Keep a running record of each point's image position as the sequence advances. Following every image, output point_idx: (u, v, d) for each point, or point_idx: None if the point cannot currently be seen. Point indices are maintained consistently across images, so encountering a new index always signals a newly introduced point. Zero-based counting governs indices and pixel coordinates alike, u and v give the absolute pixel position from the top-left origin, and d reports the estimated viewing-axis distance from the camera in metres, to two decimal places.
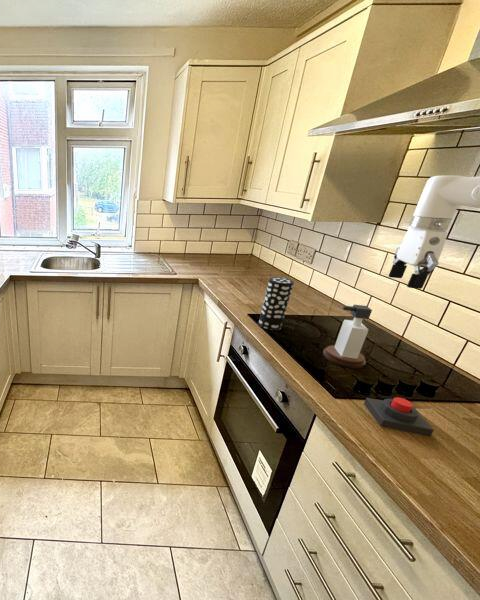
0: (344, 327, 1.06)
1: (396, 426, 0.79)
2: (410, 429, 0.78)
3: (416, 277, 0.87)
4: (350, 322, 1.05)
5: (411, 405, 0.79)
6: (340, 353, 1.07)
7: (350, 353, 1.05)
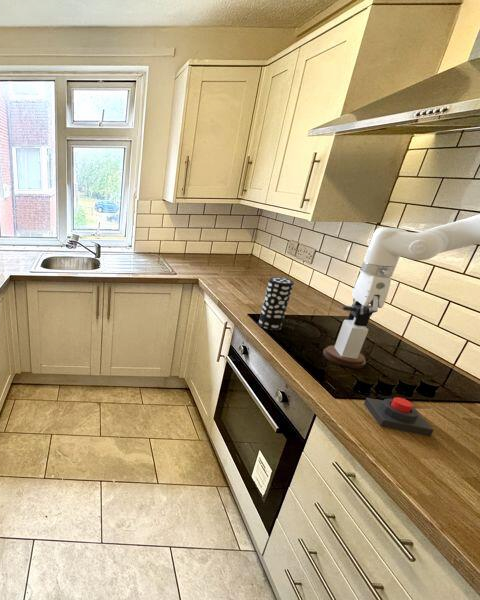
0: (344, 327, 1.06)
1: (396, 426, 0.79)
2: (410, 429, 0.78)
3: (361, 317, 1.00)
4: (350, 322, 1.05)
5: (411, 405, 0.79)
6: (340, 353, 1.07)
7: (350, 353, 1.05)
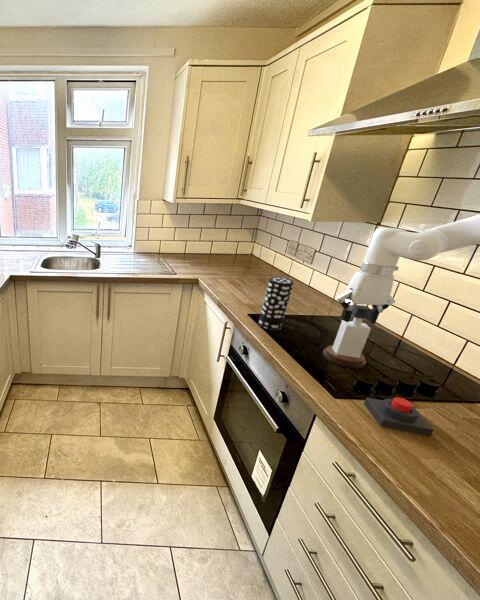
0: (352, 332, 1.03)
1: (396, 426, 0.79)
2: (410, 429, 0.78)
3: None
4: (353, 325, 1.03)
5: (411, 405, 0.79)
6: (355, 356, 1.05)
7: None
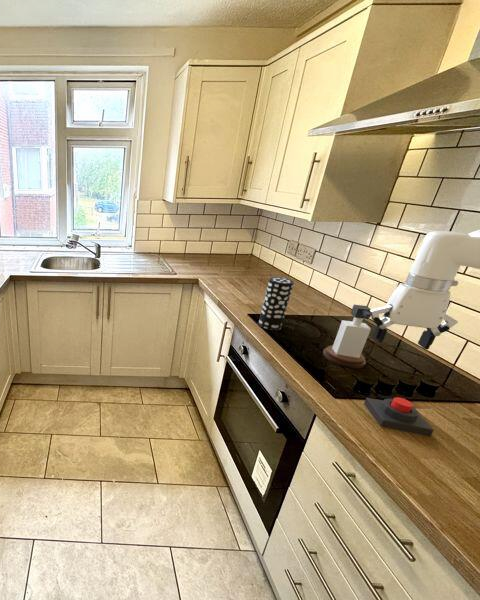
0: (352, 332, 1.03)
1: (396, 426, 0.79)
2: (410, 429, 0.78)
3: None
4: (353, 325, 1.03)
5: (411, 405, 0.79)
6: (355, 356, 1.05)
7: None
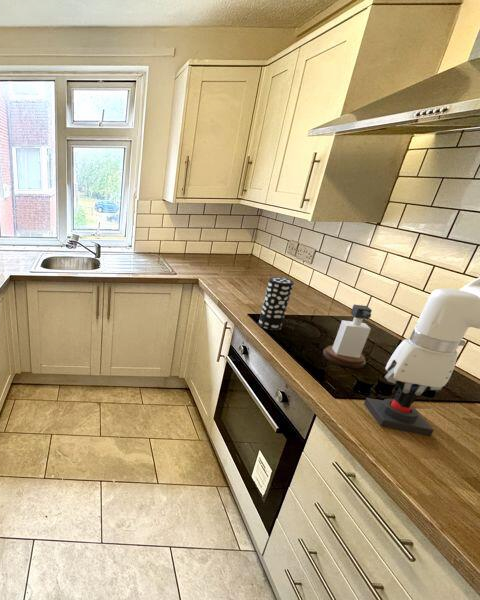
0: (352, 332, 1.03)
1: (396, 426, 0.79)
2: (410, 429, 0.78)
3: None
4: (353, 325, 1.03)
5: (410, 407, 0.79)
6: (355, 356, 1.05)
7: None
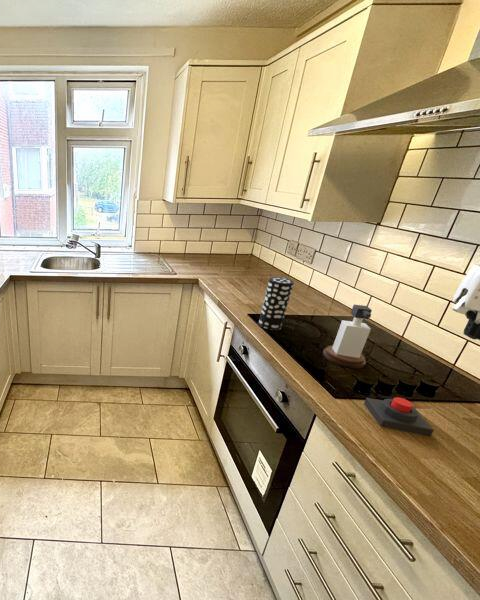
0: (352, 332, 1.03)
1: (396, 426, 0.79)
2: (410, 429, 0.78)
3: None
4: (353, 325, 1.03)
5: (411, 405, 0.79)
6: (355, 356, 1.05)
7: None
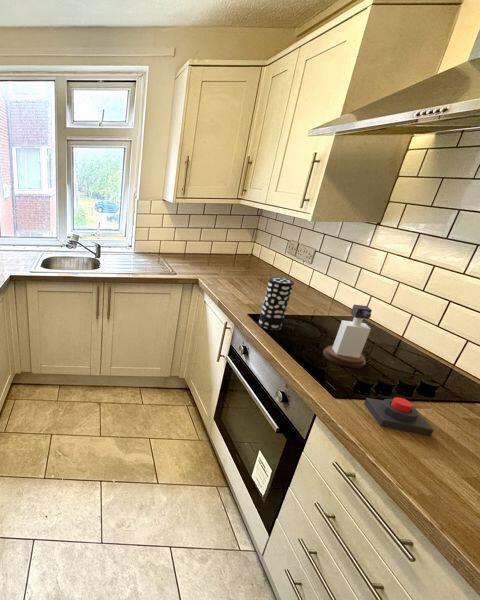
0: (352, 332, 1.03)
1: (396, 426, 0.79)
2: (410, 429, 0.78)
3: None
4: (353, 325, 1.03)
5: (411, 405, 0.79)
6: (355, 356, 1.05)
7: None
